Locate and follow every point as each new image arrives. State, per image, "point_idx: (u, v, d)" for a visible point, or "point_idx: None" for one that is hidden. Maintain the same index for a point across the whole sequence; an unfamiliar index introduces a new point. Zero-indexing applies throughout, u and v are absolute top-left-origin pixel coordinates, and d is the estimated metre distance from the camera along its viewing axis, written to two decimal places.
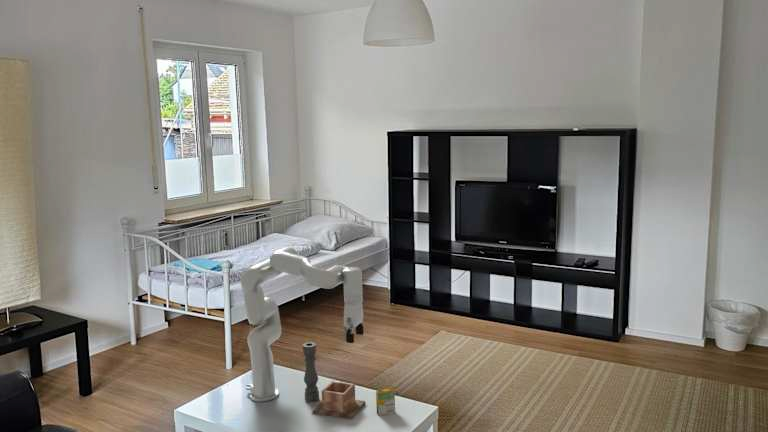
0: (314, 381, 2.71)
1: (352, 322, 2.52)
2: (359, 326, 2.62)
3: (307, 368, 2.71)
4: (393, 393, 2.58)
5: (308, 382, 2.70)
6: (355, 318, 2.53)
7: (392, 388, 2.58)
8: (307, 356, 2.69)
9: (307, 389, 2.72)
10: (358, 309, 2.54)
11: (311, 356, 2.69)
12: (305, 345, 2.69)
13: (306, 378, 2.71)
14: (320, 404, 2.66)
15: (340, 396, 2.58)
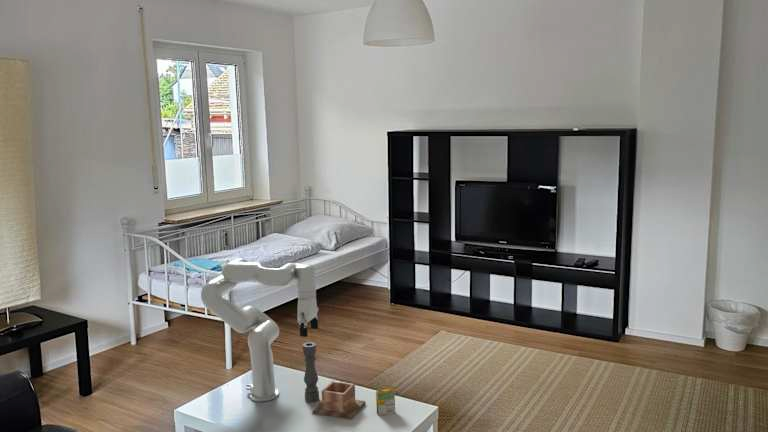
0: (314, 381, 2.71)
1: (305, 316, 2.63)
2: (314, 321, 2.73)
3: (307, 368, 2.71)
4: (393, 393, 2.58)
5: (308, 382, 2.70)
6: (308, 312, 2.63)
7: (392, 388, 2.58)
8: (307, 356, 2.69)
9: (307, 389, 2.72)
10: (311, 304, 2.65)
11: (311, 356, 2.69)
12: (305, 345, 2.69)
13: (306, 378, 2.71)
14: (320, 404, 2.66)
15: (340, 396, 2.58)
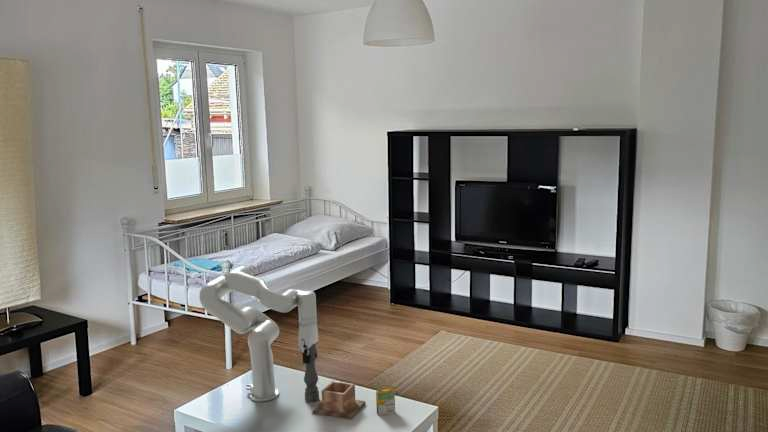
0: (314, 381, 2.71)
1: (306, 345, 2.65)
2: None
3: (307, 368, 2.71)
4: (393, 393, 2.58)
5: (308, 382, 2.70)
6: (309, 339, 2.65)
7: (392, 388, 2.58)
8: None
9: (307, 389, 2.72)
10: (312, 331, 2.67)
11: (311, 356, 2.69)
12: None
13: (306, 378, 2.71)
14: (320, 404, 2.66)
15: (340, 396, 2.58)
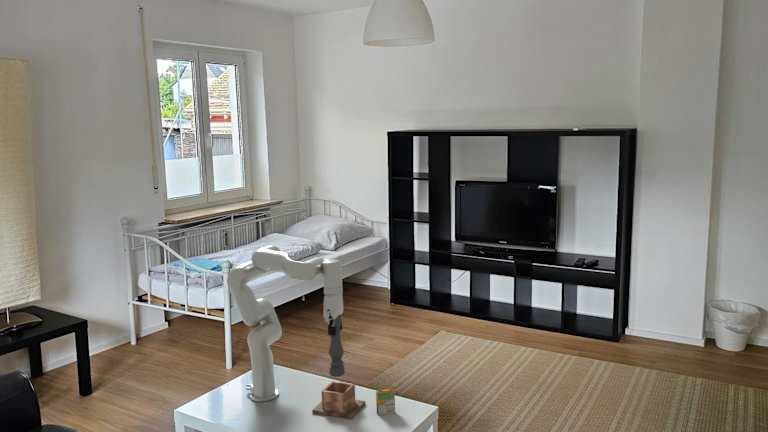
0: (340, 354, 2.59)
1: (332, 316, 2.53)
2: None
3: (332, 340, 2.59)
4: (393, 393, 2.58)
5: (333, 355, 2.58)
6: (335, 310, 2.54)
7: (392, 388, 2.58)
8: None
9: (332, 362, 2.60)
10: (337, 301, 2.55)
11: (337, 328, 2.57)
12: (330, 317, 2.57)
13: (331, 351, 2.59)
14: (320, 404, 2.66)
15: (340, 396, 2.58)
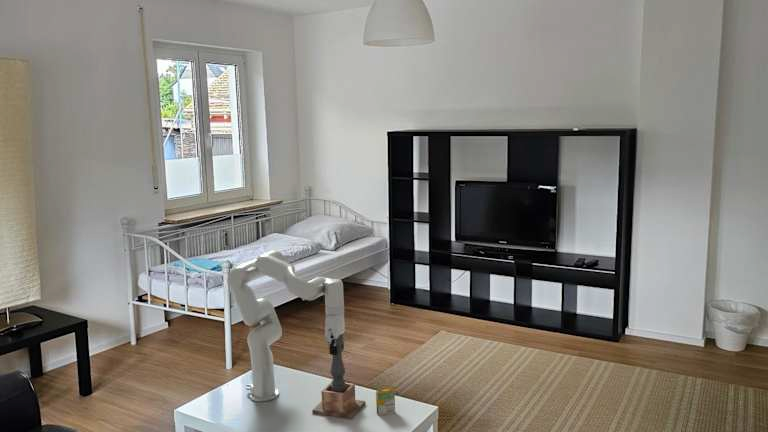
0: (341, 373, 2.60)
1: (334, 336, 2.55)
2: None
3: (334, 360, 2.60)
4: (393, 393, 2.58)
5: (335, 374, 2.59)
6: (336, 329, 2.55)
7: (392, 388, 2.58)
8: None
9: (334, 381, 2.61)
10: (339, 321, 2.56)
11: (338, 347, 2.58)
12: (332, 336, 2.58)
13: (333, 370, 2.60)
14: (320, 404, 2.66)
15: (340, 396, 2.58)
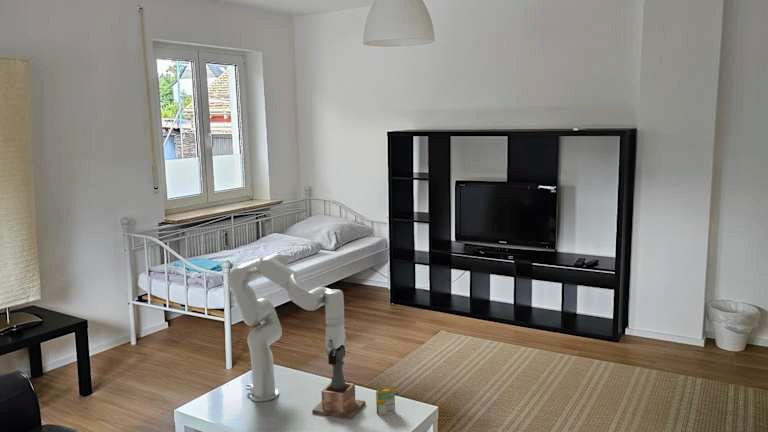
0: (341, 387, 2.61)
1: (334, 344, 2.55)
2: None
3: (334, 373, 2.61)
4: (393, 393, 2.58)
5: (335, 387, 2.60)
6: (337, 340, 2.56)
7: (392, 388, 2.58)
8: None
9: None
10: (339, 331, 2.57)
11: (339, 361, 2.59)
12: None
13: (333, 383, 2.61)
14: (320, 404, 2.66)
15: (340, 396, 2.58)
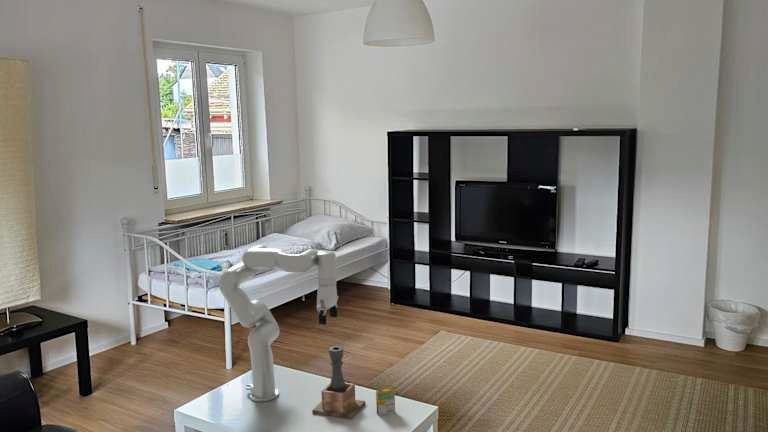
0: (341, 386, 2.61)
1: (325, 304, 2.59)
2: (333, 309, 2.69)
3: (334, 373, 2.61)
4: (393, 393, 2.58)
5: (335, 387, 2.61)
6: (328, 300, 2.60)
7: (392, 388, 2.58)
8: (334, 361, 2.59)
9: None
10: (331, 292, 2.61)
11: (338, 361, 2.60)
12: (332, 350, 2.59)
13: (333, 383, 2.61)
14: (320, 404, 2.66)
15: (340, 396, 2.58)
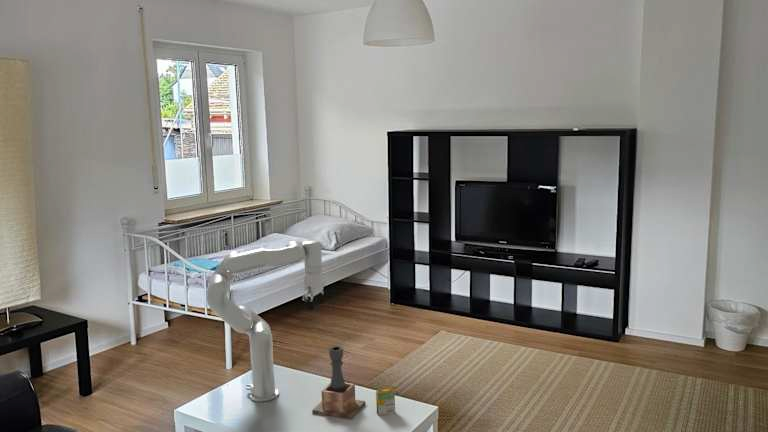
0: (341, 386, 2.61)
1: (311, 291, 2.72)
2: (319, 295, 2.82)
3: (334, 373, 2.61)
4: (393, 393, 2.58)
5: (335, 387, 2.61)
6: (314, 287, 2.73)
7: (392, 388, 2.58)
8: (334, 361, 2.59)
9: None
10: (317, 279, 2.75)
11: (338, 361, 2.60)
12: (332, 350, 2.59)
13: (333, 383, 2.61)
14: (320, 404, 2.66)
15: (340, 396, 2.58)
